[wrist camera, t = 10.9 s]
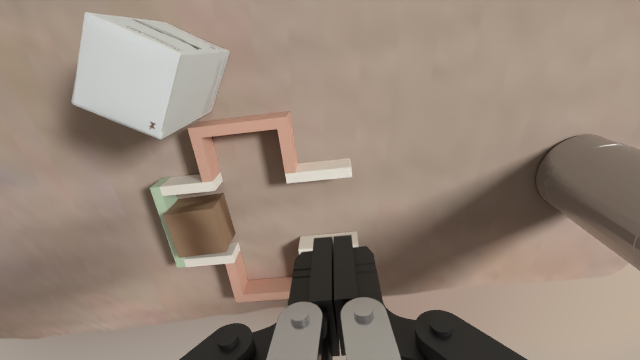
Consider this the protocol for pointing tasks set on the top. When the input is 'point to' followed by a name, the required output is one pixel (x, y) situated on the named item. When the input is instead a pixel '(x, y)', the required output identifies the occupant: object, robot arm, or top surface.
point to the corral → (212, 178)
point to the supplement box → (146, 73)
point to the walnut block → (200, 225)
